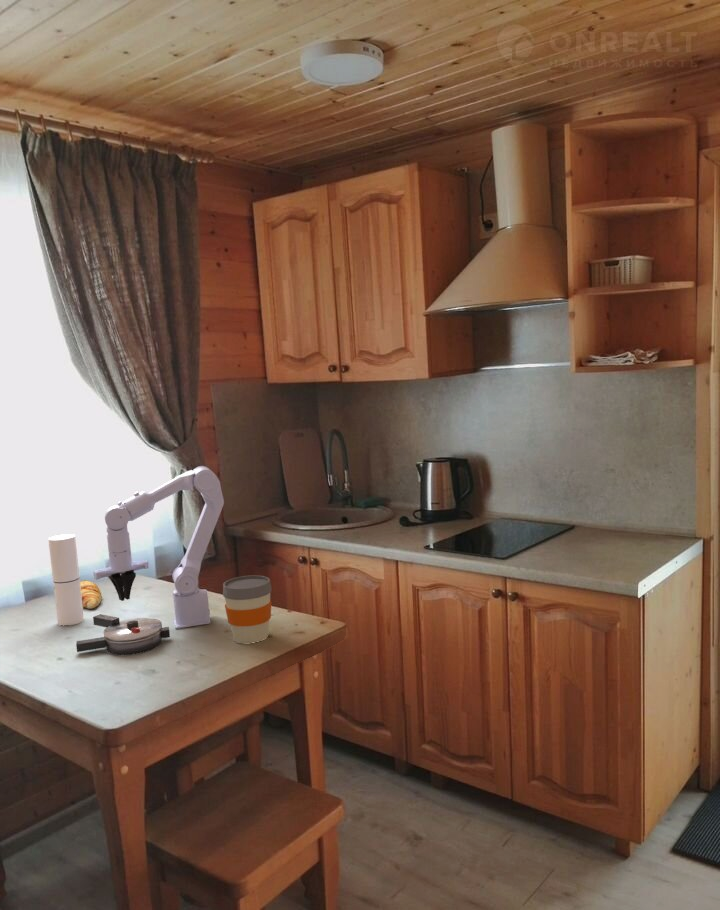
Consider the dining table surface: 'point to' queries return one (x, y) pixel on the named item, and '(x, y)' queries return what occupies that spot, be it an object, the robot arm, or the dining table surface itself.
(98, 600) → the croissant
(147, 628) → the pressure cooker lid
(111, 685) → the dining table surface
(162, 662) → the dining table surface
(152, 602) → the dining table surface
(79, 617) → the cylindrical container
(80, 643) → the pot
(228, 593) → the reusable coffee cup
